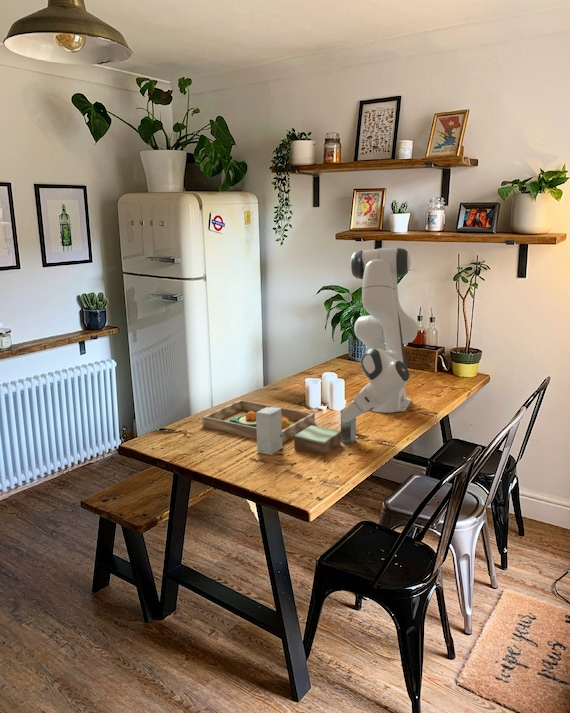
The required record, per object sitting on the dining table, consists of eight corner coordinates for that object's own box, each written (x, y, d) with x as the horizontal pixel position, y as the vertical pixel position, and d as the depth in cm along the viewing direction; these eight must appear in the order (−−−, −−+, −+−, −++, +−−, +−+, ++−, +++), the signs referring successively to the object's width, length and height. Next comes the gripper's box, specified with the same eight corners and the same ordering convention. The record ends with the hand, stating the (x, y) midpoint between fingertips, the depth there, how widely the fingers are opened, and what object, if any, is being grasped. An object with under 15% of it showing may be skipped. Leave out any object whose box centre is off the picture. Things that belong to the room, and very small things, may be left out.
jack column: (345, 438, 224) (345, 407, 221) (356, 440, 221) (356, 408, 219) (340, 442, 220) (340, 410, 217) (350, 444, 218) (351, 412, 215)
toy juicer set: (300, 426, 237) (299, 407, 236) (275, 442, 222) (274, 422, 220) (239, 415, 252) (238, 397, 250) (212, 429, 237) (211, 410, 235)
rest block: (311, 438, 224) (311, 425, 223) (340, 444, 218) (340, 431, 217) (294, 449, 215) (294, 435, 213) (324, 455, 208) (324, 442, 207)
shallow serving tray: (240, 408, 259) (240, 399, 258) (314, 423, 240) (314, 413, 239) (202, 426, 238) (202, 417, 237) (279, 443, 219) (279, 433, 219)
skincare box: (271, 455, 209) (270, 414, 206) (256, 452, 212) (254, 412, 209) (283, 447, 216) (282, 407, 213) (268, 444, 219) (267, 405, 216)
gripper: (378, 382, 221) (354, 404, 228) (353, 397, 204) (327, 420, 212) (389, 395, 219) (364, 417, 227) (365, 412, 203) (339, 434, 210)
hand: (346, 418), depth 219 cm, fingers open, 4 cm apart
